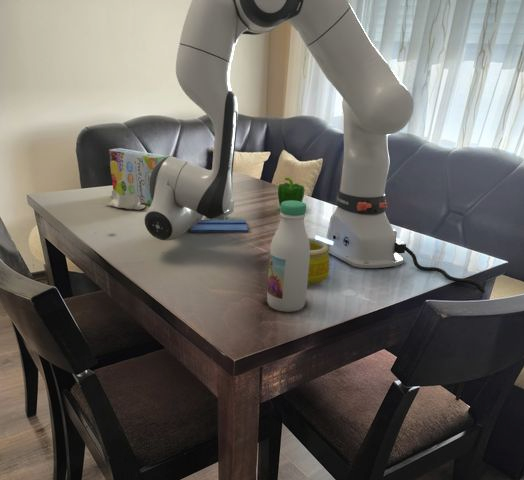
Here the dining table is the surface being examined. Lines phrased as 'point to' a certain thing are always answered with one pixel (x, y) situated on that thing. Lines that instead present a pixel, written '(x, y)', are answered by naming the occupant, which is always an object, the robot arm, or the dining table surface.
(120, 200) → the fabric
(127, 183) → the snack box
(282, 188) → the bell pepper
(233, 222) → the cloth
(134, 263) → the dining table surface
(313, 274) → the mug
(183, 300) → the dining table surface
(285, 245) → the milk bottle
